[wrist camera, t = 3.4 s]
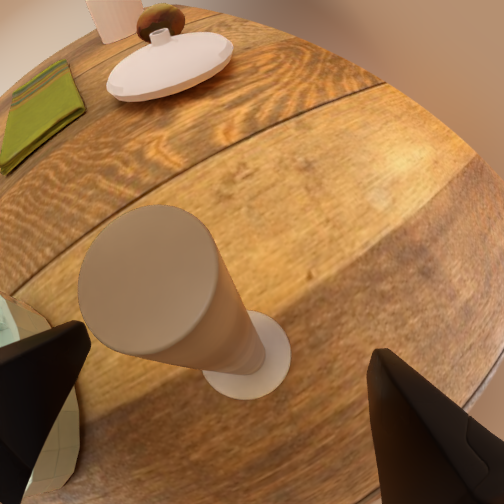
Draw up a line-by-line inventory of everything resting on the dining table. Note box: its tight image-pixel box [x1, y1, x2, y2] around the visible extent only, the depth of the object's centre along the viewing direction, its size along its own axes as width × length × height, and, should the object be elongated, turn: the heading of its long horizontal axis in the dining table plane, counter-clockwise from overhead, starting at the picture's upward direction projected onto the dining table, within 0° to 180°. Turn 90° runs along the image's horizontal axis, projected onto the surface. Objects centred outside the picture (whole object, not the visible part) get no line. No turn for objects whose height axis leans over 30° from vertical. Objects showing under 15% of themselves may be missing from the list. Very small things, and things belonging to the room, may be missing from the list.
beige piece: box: [78, 205, 291, 400], centre depth 9 cm, size 5×5×13 cm
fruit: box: [136, 3, 185, 43], centre depth 33 cm, size 8×8×8 cm
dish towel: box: [0, 59, 85, 175], centre depth 33 cm, size 15×36×3 cm, turn 37°
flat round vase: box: [106, 28, 233, 102], centre depth 26 cm, size 16×16×7 cm
